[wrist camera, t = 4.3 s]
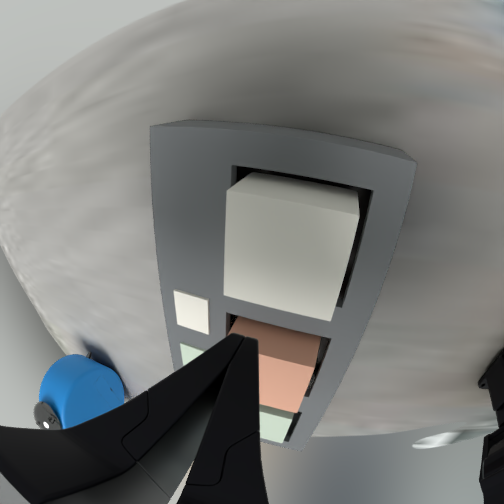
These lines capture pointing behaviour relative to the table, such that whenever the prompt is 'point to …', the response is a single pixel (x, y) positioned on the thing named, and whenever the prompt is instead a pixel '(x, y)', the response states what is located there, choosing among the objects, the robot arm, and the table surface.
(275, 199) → the cream key
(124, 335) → the table surface
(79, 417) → the alarm clock
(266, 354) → the terracotta key
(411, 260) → the table surface
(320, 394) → the console
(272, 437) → the sage key
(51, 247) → the table surface
